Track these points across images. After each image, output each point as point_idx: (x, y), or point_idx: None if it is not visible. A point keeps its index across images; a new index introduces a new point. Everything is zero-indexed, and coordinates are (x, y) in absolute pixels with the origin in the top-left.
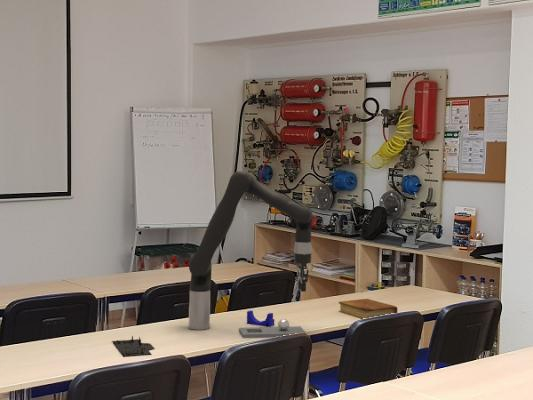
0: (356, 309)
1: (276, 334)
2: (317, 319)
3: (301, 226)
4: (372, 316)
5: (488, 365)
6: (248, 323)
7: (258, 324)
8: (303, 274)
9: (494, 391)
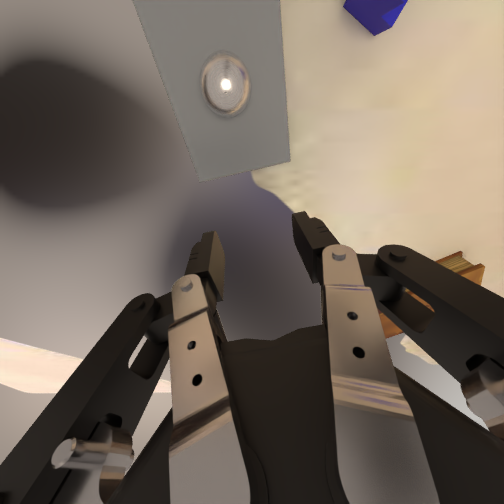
0: (406, 291)
1: (151, 49)
2: (404, 207)
3: None
4: None
5: None
6: None
7: None
8: (50, 418)
9: (14, 382)
